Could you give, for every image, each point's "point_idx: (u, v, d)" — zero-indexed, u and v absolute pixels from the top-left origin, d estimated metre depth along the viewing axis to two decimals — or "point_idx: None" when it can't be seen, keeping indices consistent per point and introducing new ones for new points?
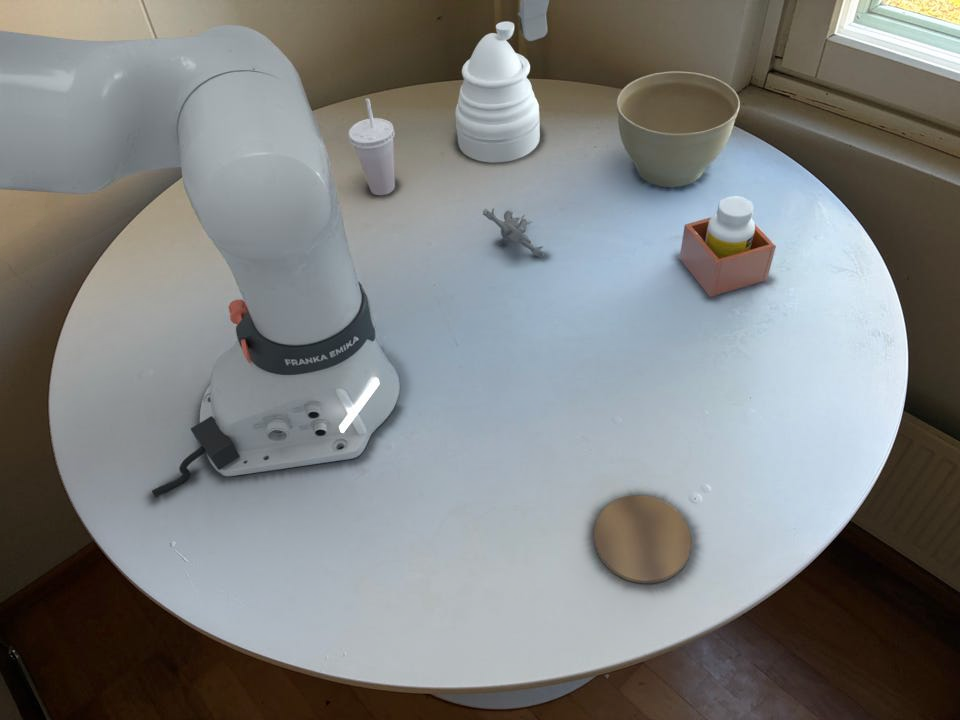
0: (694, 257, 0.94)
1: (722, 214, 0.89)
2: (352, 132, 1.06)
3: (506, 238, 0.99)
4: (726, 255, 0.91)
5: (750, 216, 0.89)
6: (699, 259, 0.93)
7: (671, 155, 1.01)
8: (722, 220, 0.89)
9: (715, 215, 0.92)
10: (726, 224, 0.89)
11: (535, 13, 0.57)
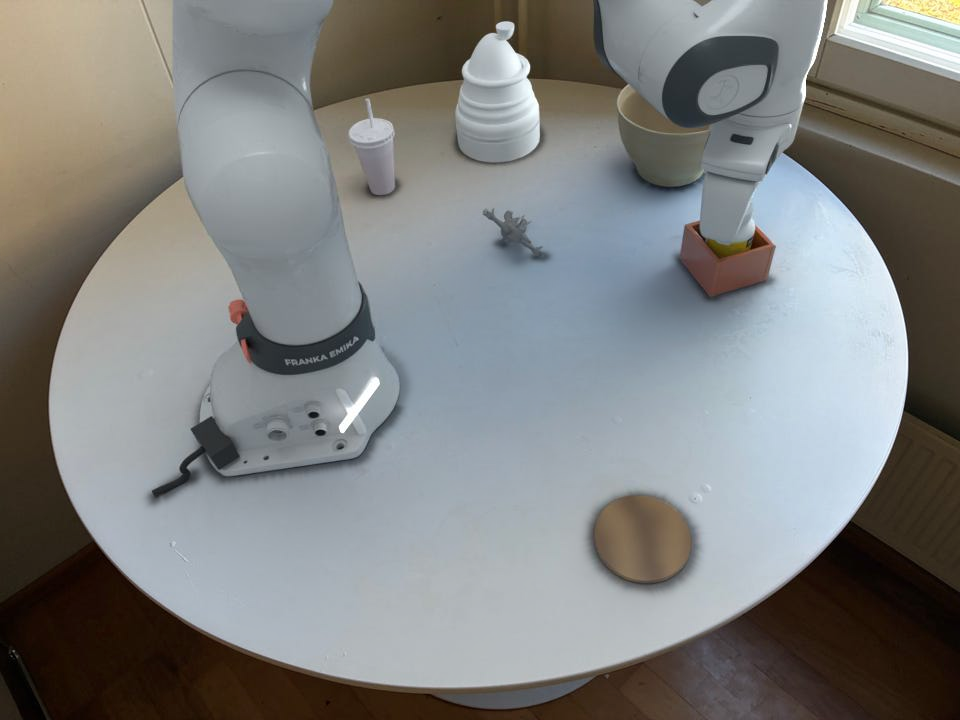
0: (694, 257, 0.94)
1: None
2: (352, 132, 1.06)
3: (506, 238, 0.99)
4: (726, 255, 0.91)
5: (750, 216, 0.89)
6: (699, 259, 0.93)
7: (671, 155, 1.01)
8: None
9: None
10: None
11: None
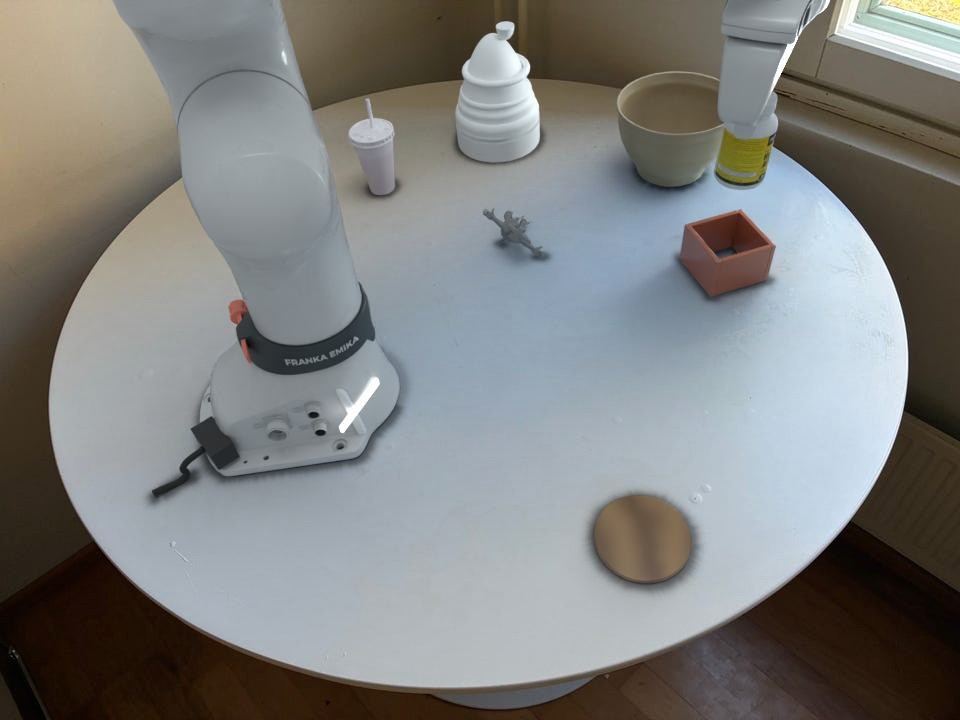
0: (694, 257, 0.94)
1: None
2: (352, 132, 1.06)
3: (506, 238, 0.99)
4: (745, 155, 0.80)
5: (773, 107, 0.77)
6: (699, 259, 0.93)
7: (671, 155, 1.01)
8: None
9: None
10: None
11: None
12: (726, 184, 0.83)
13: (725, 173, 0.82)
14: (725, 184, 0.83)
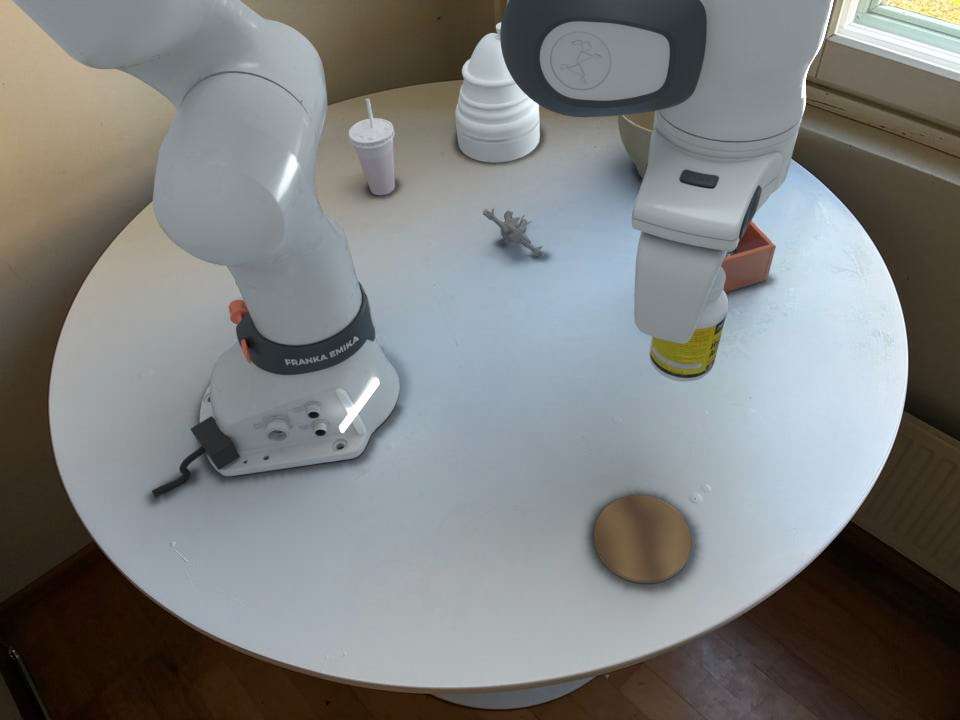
0: None
1: None
2: (352, 132, 1.06)
3: (506, 238, 0.99)
4: (685, 346, 0.60)
5: (720, 290, 0.57)
6: None
7: None
8: None
9: None
10: None
11: None
12: (664, 374, 0.63)
13: (661, 361, 0.63)
14: (663, 373, 0.63)
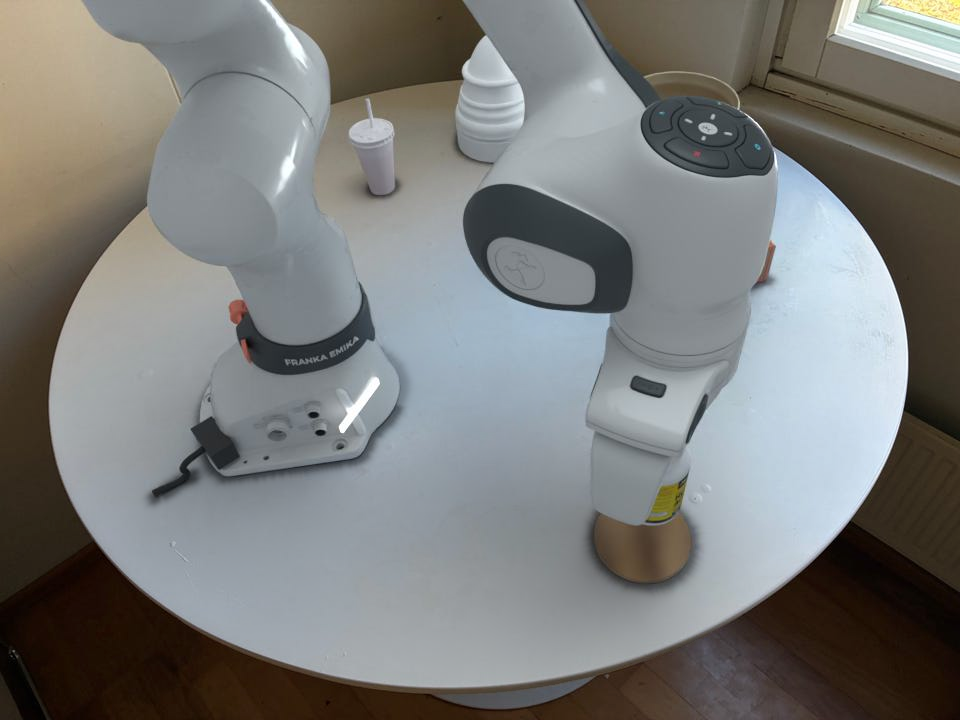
0: None
1: None
2: (352, 132, 1.06)
3: None
4: None
5: None
6: None
7: None
8: None
9: None
10: None
11: None
12: None
13: None
14: None
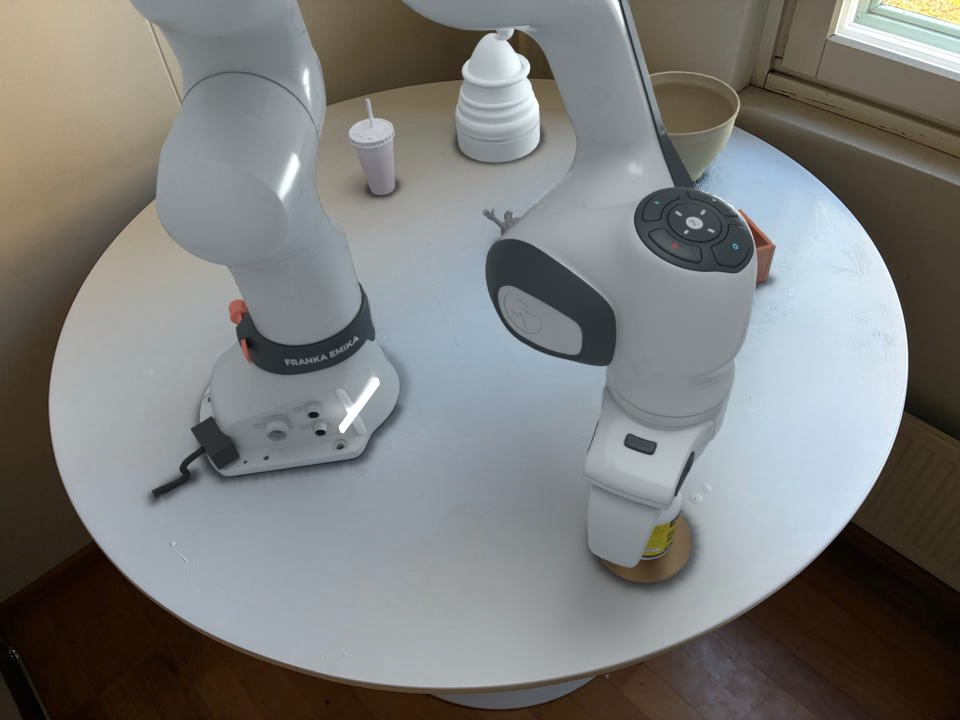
0: None
1: None
2: (352, 132, 1.06)
3: None
4: None
5: None
6: None
7: None
8: None
9: None
10: None
11: None
12: None
13: None
14: None
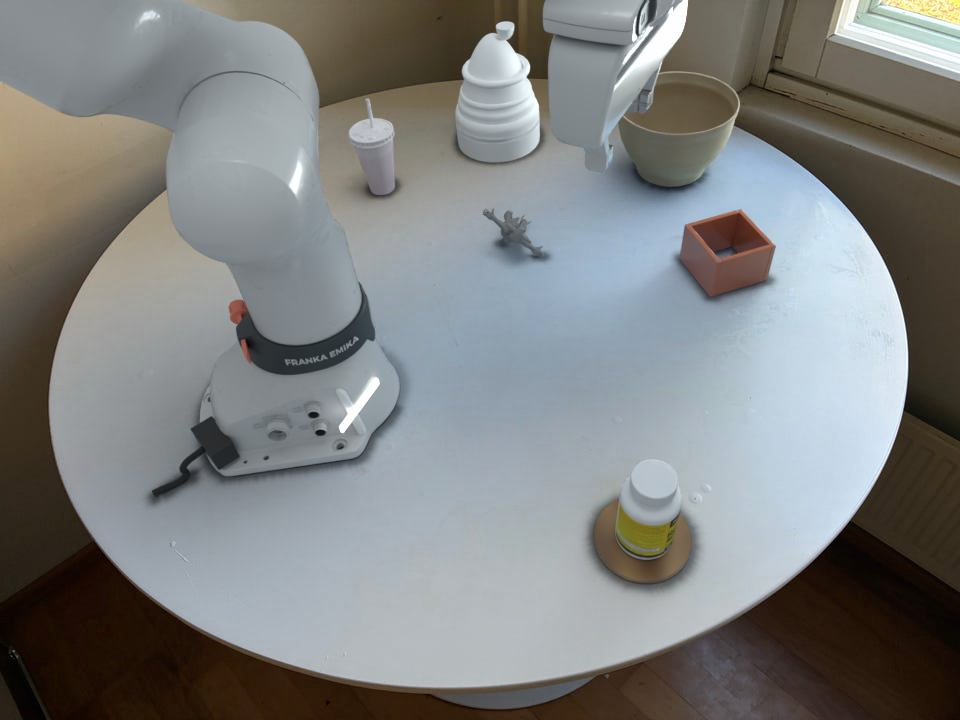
0: (694, 257, 0.94)
1: (635, 490, 0.64)
2: (352, 132, 1.06)
3: (506, 238, 0.99)
4: (644, 536, 0.67)
5: (673, 495, 0.64)
6: (699, 259, 0.93)
7: (671, 155, 1.01)
8: (636, 497, 0.65)
9: (629, 480, 0.67)
10: (641, 501, 0.65)
11: (594, 150, 0.60)
12: (627, 552, 0.70)
13: (624, 543, 0.70)
14: (626, 552, 0.71)
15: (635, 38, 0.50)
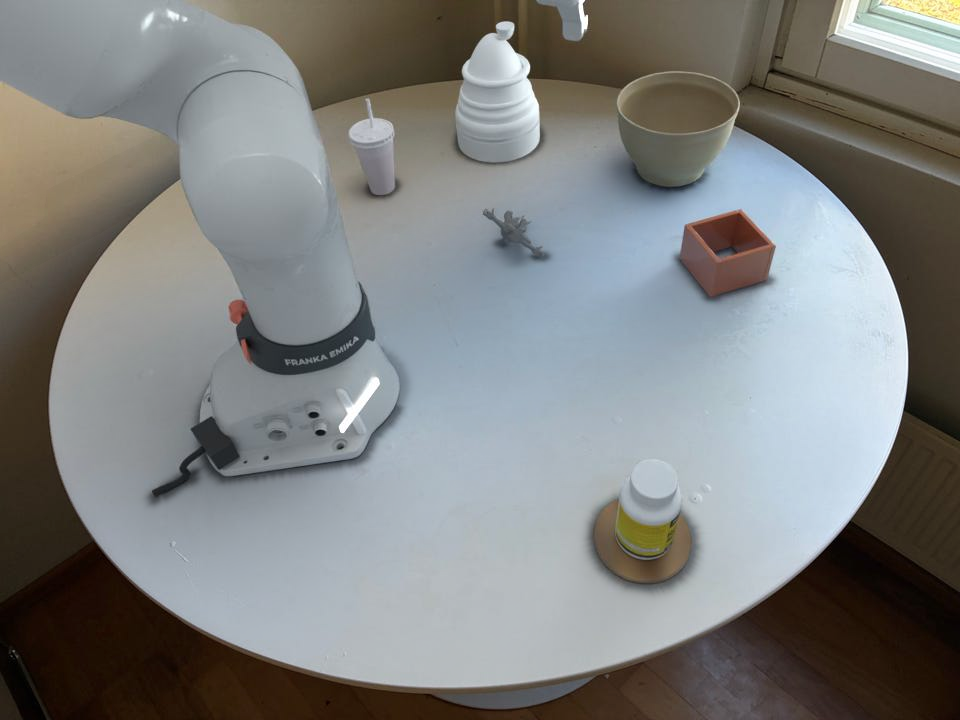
0: (694, 257, 0.94)
1: (635, 490, 0.64)
2: (352, 132, 1.06)
3: (506, 238, 0.99)
4: (644, 536, 0.67)
5: (673, 495, 0.64)
6: (699, 259, 0.93)
7: (671, 155, 1.01)
8: (636, 497, 0.65)
9: (629, 480, 0.67)
10: (641, 501, 0.65)
11: (570, 17, 0.66)
12: (627, 552, 0.70)
13: (624, 543, 0.70)
14: (626, 552, 0.71)
15: None
